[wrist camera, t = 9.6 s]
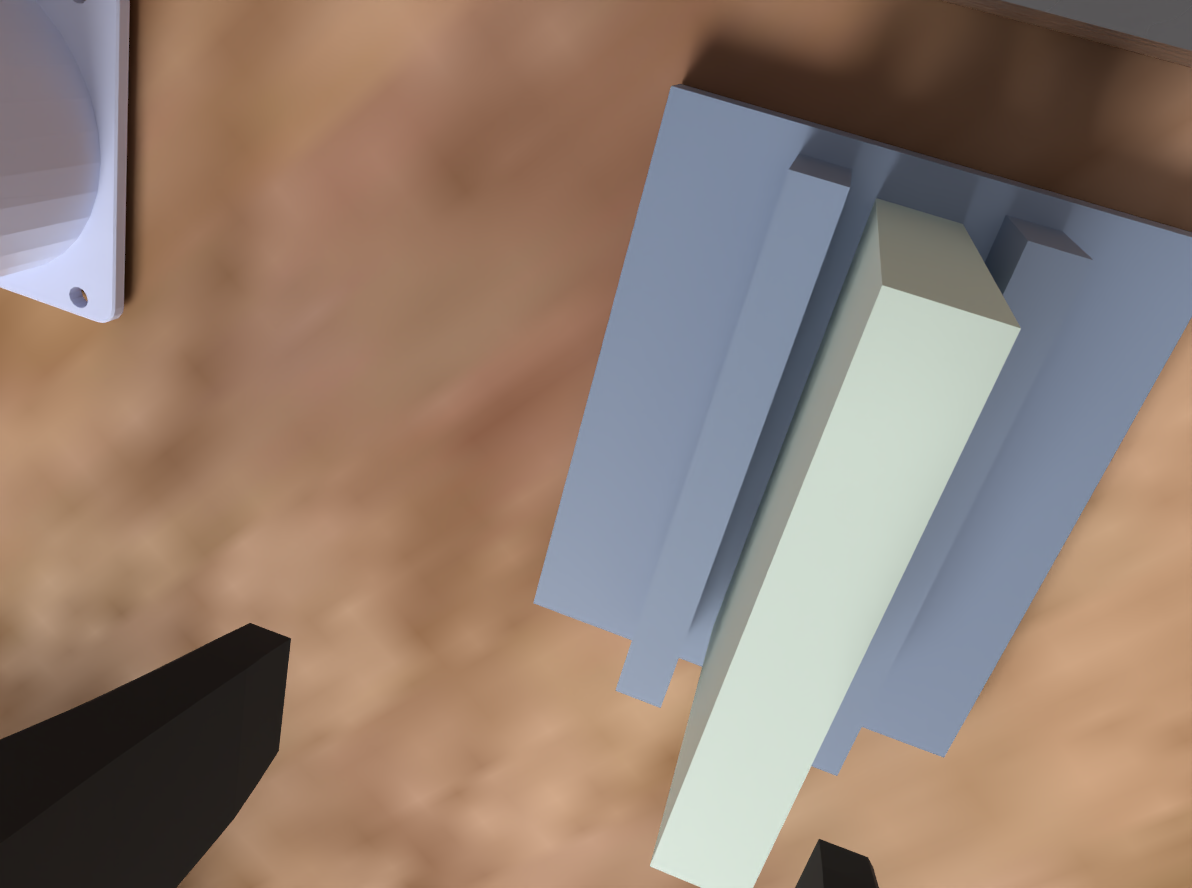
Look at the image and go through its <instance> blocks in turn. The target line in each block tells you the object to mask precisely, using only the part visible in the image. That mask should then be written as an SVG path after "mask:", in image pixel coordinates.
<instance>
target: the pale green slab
mask: <svg viewBox="0 0 1192 888" xmlns="http://www.w3.org/2000/svg"><path fill="white" fill-rule="evenodd" d="M1020 330H1021V327H1020V326H1019V324H1018V322H1017V320H1016V318H1015V317H1014V315H1013V313H1012V311H1011V309H1010V308H1009V306H1008V304H1007V302H1006V300H1005V299H1004V297H1003V295H1002V293H1001V292H1000V290H999V288H998V286H997V284H996V283H995V281H994V279H993V277H992V275H991V274H990V272H989V270H988V268H987V266H986V265H985V263H984V261H983V259H982V257H981V256H980V254H979V252H978V250H977V248H976V247H975V245H974V243H973V241H972V239H971V238H970V236H969V234H968V232H967V231H966V229H965V227H964V225H963V224H961V223H958V222H954V221H951V220H948V219H944V218H941V217H938V216H934V215H931V214H928V213H924V212H921V211H918V210H914V209H911V208H908V207H904V206H901V205H898V204H894V203H891V202H888V201H884V200H881V199H878V198H876V199H875V202H874V204H873V207H872V210H871V212H870V215H869V217H868V220H867V223H866V225H865V228H864V231H863V233H862V236H861V239H860V241H859V244H858V246H857V249H856V252H855V254H854V257H853V260H852V262H851V265H850V267H849V270H848V273H847V275H846V278H845V281H844V283H843V286H842V289H841V291H840V294H839V296H838V299H837V302H836V304H835V307H834V310H833V312H832V315H831V317H830V320H829V323H828V325H827V328H826V331H825V333H824V336H823V339H822V341H821V344H820V346H819V349H818V352H817V354H816V357H815V360H814V362H813V365H812V367H811V370H810V373H809V375H808V378H807V381H806V383H805V386H804V389H803V391H802V394H801V396H800V399H799V402H798V404H797V407H796V410H795V412H794V415H793V417H792V420H791V423H790V425H789V428H788V431H787V433H786V436H785V439H784V441H783V444H782V446H781V449H780V452H779V454H778V457H777V460H776V462H775V465H774V467H773V470H772V473H771V475H770V478H769V481H768V483H767V486H766V489H765V491H764V494H763V496H762V499H761V502H760V504H759V507H758V510H757V512H756V515H755V517H754V520H753V523H752V525H751V528H750V531H749V533H748V536H747V538H746V541H745V544H744V546H743V549H742V552H741V554H740V557H739V560H738V562H737V565H736V567H735V570H734V573H733V575H732V578H731V581H730V583H729V586H728V588H727V591H726V594H725V596H724V599H723V602H722V604H721V607H720V610H719V612H718V615H717V617H716V620H715V623H714V625H713V628H712V632H711V636H710V640H709V644H708V647H707V651H706V655H705V659H704V663H703V666H702V670H701V674H700V678H699V682H698V685H697V689H696V693H695V697H694V701H693V704H692V708H691V712H690V716H689V720H688V723H687V727H686V731H685V735H684V739H683V742H682V746H681V750H680V754H679V758H678V761H677V765H676V769H675V773H674V777H673V780H672V784H671V788H670V792H669V796H668V799H667V803H666V807H665V811H664V815H663V818H662V822H661V826H660V830H659V834H658V837H657V841H656V845H655V849H654V853H653V856H652V860H651V864H650V867H653V868H655V869H658V870H660V871H662V872H665V873H667V874H670V875H672V876H675V877H677V878H679V879H682V880H684V881H687V882H689V883H692V884H694V885H697V886H699V887H701V888H753V886H754V884H755V882H756V880H757V878H758V876H759V874H760V872H761V870H762V868H763V865H764V863H765V861H766V859H767V857H768V855H769V853H770V851H771V849H772V847H773V845H774V842H775V840H776V838H777V836H778V834H779V832H780V830H781V828H782V826H783V824H784V822H785V820H786V817H787V815H788V813H789V811H790V809H791V807H792V805H793V803H794V801H795V799H796V797H797V795H798V792H799V790H800V788H801V786H802V784H803V782H804V780H805V778H806V776H807V774H808V772H809V770H810V767H811V765H812V763H813V761H814V759H815V757H816V755H817V753H818V751H819V749H820V747H821V745H822V742H823V740H824V738H825V736H826V734H827V732H828V730H829V728H830V726H831V724H832V722H833V720H834V717H835V715H836V713H837V711H838V709H839V707H840V705H841V703H842V701H843V699H844V697H845V694H846V692H847V690H848V688H849V686H850V684H851V682H852V680H853V678H854V676H855V674H856V672H857V669H858V667H859V665H860V663H861V661H862V659H863V657H864V655H865V653H866V651H867V649H868V647H869V644H870V642H871V640H872V638H873V636H874V634H875V632H876V630H877V628H878V626H879V624H880V622H881V619H882V617H883V615H884V613H885V611H886V609H887V607H888V605H889V603H890V601H891V599H892V597H893V594H894V592H895V590H896V588H897V586H898V584H899V582H900V580H901V578H902V576H903V574H904V572H905V569H906V567H907V565H908V563H909V561H910V559H911V557H912V555H913V553H914V551H915V549H916V546H917V544H918V542H919V540H920V538H921V536H922V534H923V532H924V530H925V528H926V526H927V524H928V521H929V519H930V517H931V515H932V513H933V511H934V509H935V507H936V505H937V503H938V501H939V499H940V496H941V494H942V492H943V490H944V488H945V486H946V484H947V482H948V480H949V478H950V476H951V474H952V471H953V469H954V467H955V465H956V463H957V461H958V459H959V457H960V455H961V453H962V451H963V449H964V446H965V444H966V442H967V440H968V438H969V436H970V434H971V432H972V430H973V428H974V426H975V424H976V421H977V419H978V417H979V415H980V413H981V411H982V409H983V407H984V405H985V403H986V401H987V398H988V396H989V394H990V392H991V390H992V388H993V386H994V384H995V382H996V380H997V378H998V376H999V373H1000V371H1001V369H1002V367H1003V365H1004V363H1005V361H1006V359H1007V357H1008V355H1009V353H1010V351H1011V348H1012V346H1013V344H1014V342H1015V340H1016V338H1017V336H1018V334H1019V332H1020Z"/></svg>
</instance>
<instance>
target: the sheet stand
mask: <svg viewBox="0 0 1192 888" xmlns="http://www.w3.org/2000/svg"><path fill="white" fill-rule="evenodd" d="M876 198H878V199H881V200H884V201H888V202H891V203H894V204H898V205H901V206H904V207H908V208H911V209H914V210H918V211H921V212H924V213H928V214H931V215H934V216H938V217H941V218H944V219H948V220H951V221H954V222H958V223H961V224H963V225H964V227H965V229H966V231H967V232H968V234H969V236H970V238H971V239H972V241H973V243H974V245H975V247H976V248H977V250H978V252H979V254H980V256H981V257H982V259H983V261H984V263H985V265H986V266H987V268H988V270H989V272H990V274H991V275H992V277H993V279H994V281H995V283H996V284H997V286H998V288H999V290H1000V292H1001V293H1002V295H1003V297H1004V299H1005V300H1006V302H1007V304H1008V306H1009V308H1010V309H1011V311H1012V313H1013V315H1014V317H1015V318H1016V320H1017V322H1018V324H1019V326H1020V327H1021V330H1020V332H1019V334H1018V336H1017V338H1016V340H1015V342H1014V344H1013V346H1012V348H1011V351H1010V353H1009V355H1008V357H1007V359H1006V361H1005V363H1004V365H1003V367H1002V369H1001V371H1000V373H999V376H998V378H997V380H996V382H995V384H994V386H993V388H992V390H991V392H990V394H989V396H988V398H987V401H986V403H985V405H984V407H983V409H982V411H981V413H980V415H979V417H978V419H977V421H976V424H975V426H974V428H973V430H972V432H971V434H970V436H969V438H968V440H967V442H966V444H965V446H964V449H963V451H962V453H961V455H960V457H959V459H958V461H957V463H956V465H955V467H954V469H953V471H952V474H951V476H950V478H949V480H948V482H947V484H946V486H945V488H944V490H943V492H942V494H941V496H940V499H939V501H938V503H937V505H936V507H935V509H934V511H933V513H932V515H931V517H930V519H929V521H928V524H927V526H926V528H925V530H924V532H923V534H922V536H921V538H920V540H919V542H918V544H917V546H916V549H915V551H914V553H913V555H912V557H911V559H910V561H909V563H908V565H907V567H906V569H905V572H904V574H903V576H902V578H901V580H900V582H899V584H898V586H897V588H896V590H895V592H894V594H893V597H892V599H891V601H890V603H889V605H888V607H887V609H886V611H885V613H884V615H883V617H882V619H881V622H880V624H879V626H878V628H877V630H876V632H875V634H874V636H873V638H872V640H871V642H870V644H869V647H868V649H867V651H866V653H865V655H864V657H863V659H862V661H861V663H860V665H859V667H858V669H857V672H856V674H855V676H854V678H853V680H852V682H851V684H850V686H849V688H848V690H847V692H846V694H845V697H844V699H843V701H842V703H841V705H840V707H839V709H838V711H837V713H836V715H835V717H834V720H833V722H832V724H831V726H830V728H829V730H828V732H827V734H826V736H825V738H824V740H823V742H822V745H821V747H820V749H819V751H818V753H817V755H816V757H815V759H814V761H813V763H812V765H811V766H813V767H815V768H818V769H821V770H823V771H826V772H828V773H831V774H834V775H836V776H837V775H838V773H839V771H840V769H841V767H842V765H843V763H844V761H845V759H846V757H847V755H848V753H849V751H850V749H851V747H852V745H853V743H854V741H855V739H856V737H857V735H858V733H859V731H860V729H861V727H864V728H867V729H869V730H872V731H875V732H877V733H880V734H883V735H885V736H888V737H891V738H893V739H896V740H899V741H901V742H904V743H906V744H909V745H912V746H914V747H917V748H920V749H922V750H925V751H928V752H930V753H933V754H936V755H938V756H941V757H945V755H946V753H947V751H948V749H949V748H950V746H951V744H952V742H953V741H954V739H955V737H956V735H957V733H958V732H959V730H960V728H961V726H962V725H963V723H964V721H965V719H966V717H967V716H968V714H969V712H970V710H971V709H972V707H973V705H974V703H975V701H976V700H977V698H978V696H979V694H980V693H981V691H982V689H983V687H984V685H985V684H986V682H987V680H988V678H989V676H990V675H991V673H992V671H993V669H994V668H995V666H996V664H997V662H998V660H999V659H1000V657H1001V655H1002V653H1003V652H1004V650H1005V648H1006V646H1007V644H1008V643H1009V641H1010V639H1011V637H1012V636H1013V634H1014V632H1015V630H1016V628H1017V627H1018V625H1019V623H1020V621H1021V620H1022V618H1023V616H1024V614H1025V612H1026V611H1027V609H1028V607H1029V605H1030V604H1031V602H1032V600H1033V598H1034V596H1035V595H1036V593H1037V591H1038V589H1039V588H1040V586H1041V584H1042V582H1043V580H1044V579H1045V577H1046V575H1047V573H1048V572H1049V570H1050V568H1051V566H1052V564H1053V563H1054V561H1055V559H1056V557H1057V556H1058V554H1059V552H1060V550H1061V548H1062V547H1063V545H1064V543H1065V541H1066V540H1067V538H1068V536H1069V534H1070V532H1071V531H1072V529H1073V527H1074V525H1075V524H1076V522H1077V520H1078V518H1079V516H1080V515H1081V513H1082V511H1083V509H1084V508H1085V506H1086V504H1087V502H1088V500H1089V499H1090V497H1091V495H1092V493H1093V492H1094V490H1095V488H1096V486H1097V484H1098V483H1099V481H1100V479H1101V477H1102V475H1103V474H1104V472H1105V470H1106V468H1107V467H1108V465H1109V463H1110V461H1111V459H1112V458H1113V456H1114V454H1115V452H1116V451H1117V449H1118V447H1119V445H1120V443H1121V442H1122V440H1123V438H1124V436H1125V435H1126V433H1127V431H1128V429H1129V427H1130V426H1131V424H1132V422H1133V420H1134V419H1135V417H1136V415H1137V413H1138V411H1139V410H1140V408H1141V406H1142V404H1143V403H1144V401H1145V399H1146V397H1147V395H1148V394H1149V392H1150V390H1151V388H1152V387H1153V385H1154V383H1155V381H1156V379H1157V378H1158V376H1159V374H1160V372H1161V371H1162V369H1163V367H1164V365H1165V363H1166V362H1167V360H1168V358H1169V356H1170V355H1171V353H1172V351H1173V349H1174V347H1175V346H1176V344H1177V342H1178V340H1179V339H1180V337H1181V335H1182V333H1183V331H1184V330H1185V328H1186V326H1187V324H1188V323H1189V321H1190V319H1191V317H1192V232H1189V231H1186V230H1182V229H1179V228H1175V227H1172V226H1168V225H1165V224H1161V223H1158V222H1155V221H1151V220H1148V219H1144V218H1141V217H1137V216H1134V215H1130V214H1127V213H1124V212H1120V211H1117V210H1113V209H1110V208H1106V207H1103V206H1099V205H1096V204H1093V203H1089V202H1086V201H1082V200H1079V199H1075V198H1072V197H1068V196H1065V195H1062V194H1058V193H1055V192H1051V191H1048V190H1044V189H1041V188H1037V187H1034V186H1031V185H1027V184H1024V183H1020V182H1017V181H1013V180H1010V179H1006V178H1003V177H1000V176H996V175H993V174H989V173H986V172H982V171H979V170H975V169H972V168H969V167H965V166H962V165H958V164H955V163H951V162H948V161H944V160H941V159H938V158H934V157H931V156H927V155H924V154H920V153H917V152H913V151H910V150H907V149H903V148H900V147H896V146H893V145H889V144H886V143H882V142H879V141H876V140H872V139H869V138H865V137H862V136H858V135H855V134H851V133H848V132H844V131H841V130H838V129H834V128H831V127H827V126H824V125H820V124H817V123H813V122H810V121H807V120H803V119H800V118H796V117H793V116H789V115H786V114H782V113H779V112H776V111H772V110H769V109H765V108H762V107H758V106H755V105H751V104H748V103H745V102H741V101H738V100H734V99H731V98H727V97H724V96H720V95H717V94H714V93H710V92H707V91H703V90H700V89H696V88H693V87H689V86H686V85H683V84H678V85H673V86H671V89H670V92H669V96H668V100H667V104H666V107H665V111H664V115H663V119H662V122H661V126H660V130H659V134H658V137H657V141H656V145H655V149H654V153H653V156H652V160H651V164H650V168H649V171H648V175H647V179H646V183H645V186H644V190H643V194H642V198H641V201H640V205H639V209H638V213H637V216H636V220H635V224H634V228H633V231H632V235H631V239H630V243H629V246H628V250H627V254H626V258H625V261H624V265H623V269H622V273H621V276H620V280H619V284H618V288H617V291H616V295H615V299H614V303H613V306H612V310H611V314H610V318H609V321H608V325H607V329H606V333H605V336H604V340H603V344H602V348H601V352H600V355H599V359H598V363H597V367H596V370H595V374H594V378H593V382H592V385H591V389H590V393H589V397H588V400H587V404H586V408H585V412H584V415H583V419H582V423H581V427H580V430H579V434H578V438H577V442H576V445H575V449H574V453H573V457H572V460H571V464H570V468H569V472H568V475H567V479H566V483H565V487H564V490H563V494H562V498H561V502H560V505H559V509H558V513H557V517H556V520H555V524H554V528H553V532H552V535H551V539H550V543H549V547H548V551H547V554H546V558H545V562H544V566H543V569H542V573H541V577H540V581H539V584H538V588H537V592H536V596H535V599H534V604H537V605H540V606H542V607H545V608H548V609H550V610H553V611H556V612H558V613H561V614H564V615H566V616H569V617H572V618H574V619H577V620H580V621H582V622H585V623H588V624H590V625H593V626H596V627H598V628H601V629H604V630H606V631H609V632H612V633H614V634H617V635H619V636H622V637H625V638H627V639H630V640H632V642H631V645H630V648H629V651H628V654H627V657H626V660H625V663H624V666H623V669H622V672H621V675H620V678H619V682H618V685H617V688H616V691H618V692H621V693H623V694H626V695H628V696H631V697H633V698H636V699H639V700H641V701H644V702H646V703H649V704H652V705H654V706H657V707H659V708H661V705H662V702H663V700H664V697H665V694H666V691H667V689H668V686H669V683H670V680H671V678H672V675H673V672H674V669H675V667H676V664H677V661H678V658H681V659H683V660H686V661H689V662H691V663H694V664H697V665H699V666H703V663H704V659H705V655H706V651H707V647H708V644H709V640H710V636H711V632H712V628H713V625H714V623H715V620H716V617H717V615H718V612H719V610H720V607H721V604H722V602H723V599H724V596H725V594H726V591H727V588H728V586H729V583H730V581H731V578H732V575H733V573H734V570H735V567H736V565H737V562H738V560H739V557H740V554H741V552H742V549H743V546H744V544H745V541H746V538H747V536H748V533H749V531H750V528H751V525H752V523H753V520H754V517H755V515H756V512H757V510H758V507H759V504H760V502H761V499H762V496H763V494H764V491H765V489H766V486H767V483H768V481H769V478H770V475H771V473H772V470H773V467H774V465H775V462H776V460H777V457H778V454H779V452H780V449H781V446H782V444H783V441H784V439H785V436H786V433H787V431H788V428H789V425H790V423H791V420H792V417H793V415H794V412H795V410H796V407H797V404H798V402H799V399H800V396H801V394H802V391H803V389H804V386H805V383H806V381H807V378H808V375H809V373H810V370H811V367H812V365H813V362H814V360H815V357H816V354H817V352H818V349H819V346H820V344H821V341H822V339H823V336H824V333H825V331H826V328H827V325H828V323H829V320H830V317H831V315H832V312H833V310H834V307H835V304H836V302H837V299H838V296H839V294H840V291H841V289H842V286H843V283H844V281H845V278H846V275H847V273H848V270H849V267H850V265H851V262H852V260H853V257H854V254H855V252H856V249H857V246H858V244H859V241H860V239H861V236H862V233H863V231H864V228H865V225H866V223H867V220H868V217H869V215H870V212H871V210H872V207H873V204H874V202H875V199H876Z"/></svg>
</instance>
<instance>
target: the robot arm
mask: <svg viewBox="0 0 1192 888" xmlns="http://www.w3.org/2000/svg"><path fill="white" fill-rule="evenodd" d="M129 17H130V1H129V0H0V287H1V288H4V289H7V290H9V291H12V292H15V293H18V294H21V295H23V296H26V297H29V298H32V299H35V300H37V301H40V302H43V303H46V304H49V305H51V306H54V307H57V308H60V309H63V310H65V311H68V312H71V313H74V314H77V315H79V316H82V317H85V318H88V319H91V320H93V321H96V322H101V323H105V322H108V321H111V320H114V319H117V318H119V317H120V315H121V314H122V313H123V308H124V277H125V225H126V173H127V121H128V69H129ZM81 289H82V290H83V291H84V292H85V293H86V295H87V299H88V302H87V301H86V300H85V299H84V297H83V296H82V292H81ZM290 642H291V638H288V637H286V636H283V635H280V634H278V633H275V632H273V631H270V630H267V629H265V628H262V627H259V626H257V625H254V624H251V623H249V624H247V625H245V626H243V627H241V628H239V629H237V630H234V631H232V632H230V633H228V634H226V635H224V636H222V637H220V638H218V639H216V640H214V641H212V642H210V643H208V644H206V645H204V646H202V647H200V648H198V649H196V650H194V651H192V652H190V653H188V654H186V655H184V656H182V657H180V658H178V659H176V660H174V661H172V662H170V663H168V664H166V665H164V666H162V667H160V668H158V669H156V670H154V671H152V672H150V673H148V674H146V675H143V676H141V677H139V678H137V679H135V680H133V681H131V682H129V683H127V684H125V685H122V686H120V687H118V688H116V689H114V690H112V691H110V692H108V693H106V694H103V695H101V696H99V697H97V698H95V699H93V700H91V701H89V702H86V703H84V704H82V705H80V706H78V707H75V708H73V709H71V710H69V711H66V712H64V713H62V714H59V715H57V716H55V717H52V718H50V719H48V720H45V721H43V722H41V723H38V724H36V725H34V726H31V727H29V728H27V729H24V730H22V731H20V732H17V733H15V734H13V735H10V736H8V737H5V738H3V739H0V888H176V887H177V886H178V885H179V884H180V883H181V881H182V880H183V879H184V878H185V877H186V875H187V874H188V873H189V872H190V871H191V870H192V868H193V867H194V866H195V865H196V864H197V862H198V861H199V860H200V859H201V858H202V856H203V855H204V854H205V853H206V852H207V850H208V849H209V848H210V847H211V846H212V844H213V843H214V842H215V841H216V840H217V839H218V837H219V836H220V835H221V834H222V832H223V831H224V830H225V829H226V828H227V826H228V825H229V824H230V823H231V822H232V820H233V819H234V818H235V816H236V815H237V813H238V812H239V810H240V809H241V807H242V806H243V805H244V803H245V802H246V800H247V799H248V797H249V796H250V794H251V793H252V791H253V790H254V788H255V787H256V785H257V784H258V782H259V781H260V779H261V778H262V776H263V774H264V773H265V771H266V770H267V768H268V767H269V765H270V764H271V762H272V760H273V759H274V757H275V756H276V754H277V753H278V751H279V743H280V734H281V724H282V715H283V706H284V697H285V688H286V679H287V670H288V661H289V651H290ZM795 888H879V887H878V883H877V880H876V876H875V873H874V869H873V866H872V865H871V863H870V861H869V859H868V857H865V856H863V855H860V854H857V853H855V852H852V851H850V850H847V849H844V848H842V847H839V846H836V845H834V844H831V843H829V842H826V841H823V840H821V839H819V840H818V842H817V844H816V846H815V848H814V850H813V852H812V854H811V856H810V858H809V860H808V862H807V865H806V867H805V869H804V871H803V873H802V875H801V877H800V879H799V881H798V883H797V885H796V887H795Z"/></svg>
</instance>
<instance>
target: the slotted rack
mask: <svg viewBox="0 0 1192 888" xmlns="http://www.w3.org/2000/svg"><path fill="white" fill-rule="evenodd" d="M941 1H945V2H949V3H952V4H956V5H960V6H964V7H967V8H971V9H975V10H979V11H982V12H986V13H990V14H994V15H997V16H1001V17H1005V18H1009V19H1012V20H1016V21H1020V22H1024V23H1027V24H1031V25H1035V26H1038V27H1042V28H1046V29H1050V30H1053V31H1057V32H1061V33H1065V34H1068V35H1072V36H1076V37H1080V38H1083V39H1087V40H1091V41H1095V42H1098V43H1102V44H1106V45H1110V46H1113V47H1117V48H1121V49H1125V50H1128V51H1132V52H1136V53H1139V54H1143V55H1147V56H1151V57H1154V58H1158V59H1162V60H1166V61H1169V62H1173V63H1177V64H1181V65H1184V66H1188V67H1192V0H941Z"/></svg>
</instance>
